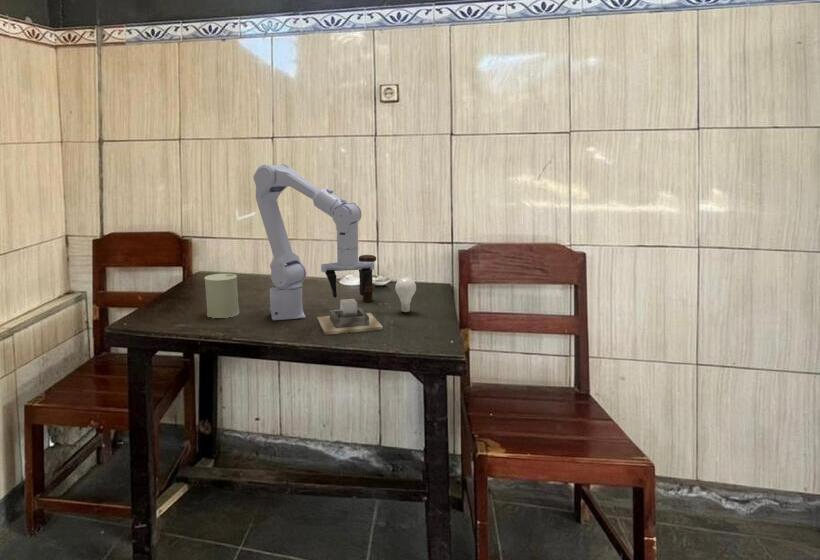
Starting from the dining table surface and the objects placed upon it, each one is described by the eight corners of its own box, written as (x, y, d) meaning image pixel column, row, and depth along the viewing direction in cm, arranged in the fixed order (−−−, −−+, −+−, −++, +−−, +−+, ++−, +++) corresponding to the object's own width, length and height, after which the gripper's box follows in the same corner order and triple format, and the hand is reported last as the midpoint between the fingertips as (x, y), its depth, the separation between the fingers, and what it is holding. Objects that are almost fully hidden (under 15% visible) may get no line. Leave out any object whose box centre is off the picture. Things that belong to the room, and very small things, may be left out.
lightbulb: (419, 311, 166) (419, 276, 164) (410, 316, 161) (410, 280, 158) (400, 308, 169) (401, 274, 166) (391, 313, 163) (391, 278, 161)
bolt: (372, 303, 174) (372, 258, 170) (357, 302, 175) (357, 257, 171) (377, 299, 179) (377, 254, 176) (362, 298, 180) (362, 254, 177)
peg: (343, 324, 150) (342, 303, 149) (340, 319, 154) (340, 299, 152) (357, 322, 151) (356, 302, 150) (354, 318, 155) (353, 298, 154)
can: (245, 314, 161) (243, 275, 158) (216, 320, 154) (213, 280, 152) (229, 308, 167) (227, 270, 164) (201, 314, 160) (198, 275, 158)
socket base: (324, 334, 144) (324, 323, 143) (317, 319, 157) (316, 309, 156) (382, 329, 148) (382, 318, 148) (370, 315, 161) (370, 305, 161)
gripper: (323, 251, 142) (324, 301, 145) (376, 249, 146) (376, 297, 149) (319, 247, 148) (320, 294, 151) (370, 245, 153) (370, 291, 156)
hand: (348, 295), depth 151 cm, fingers open, 7 cm apart
